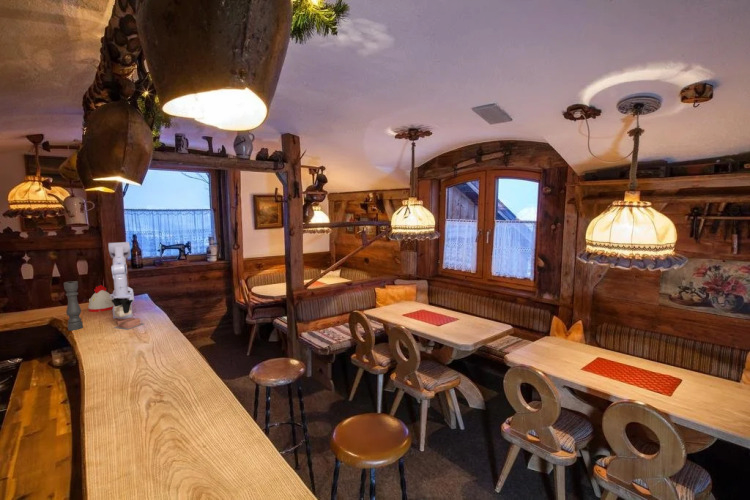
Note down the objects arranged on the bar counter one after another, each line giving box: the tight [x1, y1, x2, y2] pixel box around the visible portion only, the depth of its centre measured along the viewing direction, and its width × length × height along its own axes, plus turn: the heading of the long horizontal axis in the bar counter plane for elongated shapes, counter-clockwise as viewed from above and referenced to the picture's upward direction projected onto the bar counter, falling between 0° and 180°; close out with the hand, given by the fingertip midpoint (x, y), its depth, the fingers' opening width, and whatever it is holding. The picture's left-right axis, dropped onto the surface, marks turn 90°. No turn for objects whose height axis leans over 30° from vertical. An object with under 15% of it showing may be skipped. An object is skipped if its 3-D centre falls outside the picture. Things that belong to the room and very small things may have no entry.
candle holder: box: [63, 280, 84, 332], centre depth 195 cm, size 6×6×25 cm
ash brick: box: [114, 305, 131, 317], centre depth 195 cm, size 4×6×5 cm, turn 161°
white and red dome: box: [87, 284, 114, 313], centre depth 234 cm, size 14×14×15 cm
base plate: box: [113, 322, 144, 331], centre depth 197 cm, size 10×10×2 cm
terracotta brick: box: [117, 317, 141, 329], centre depth 196 cm, size 7×7×3 cm
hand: (123, 312), depth 195 cm, fingers closed on ash brick, 4 cm apart
